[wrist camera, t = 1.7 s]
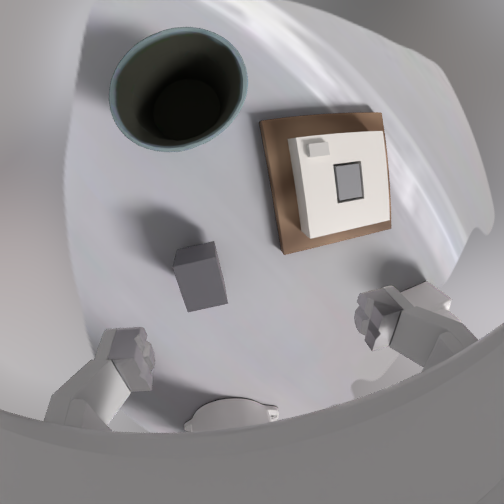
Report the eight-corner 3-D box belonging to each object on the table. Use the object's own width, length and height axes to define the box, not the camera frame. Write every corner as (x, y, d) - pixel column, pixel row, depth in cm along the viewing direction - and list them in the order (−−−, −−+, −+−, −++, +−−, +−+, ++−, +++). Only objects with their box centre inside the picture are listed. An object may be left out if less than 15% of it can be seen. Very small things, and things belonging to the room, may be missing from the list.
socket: (376, 214, 33) (392, 221, 30) (301, 231, 32) (312, 240, 29) (369, 131, 29) (385, 130, 26) (287, 139, 28) (297, 137, 25)
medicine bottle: (422, 311, 44) (460, 345, 33) (394, 324, 43) (432, 364, 32) (427, 280, 41) (471, 312, 30) (398, 292, 41) (442, 330, 30)
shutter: (358, 195, 30) (362, 196, 29) (336, 199, 29) (339, 200, 28) (355, 163, 28) (359, 163, 27) (332, 166, 28) (335, 166, 27)
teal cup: (246, 88, 27) (270, 53, 16) (209, 166, 29) (211, 172, 18) (166, 60, 24) (147, 14, 13) (129, 137, 26) (87, 129, 15)
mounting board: (385, 225, 36) (391, 228, 34) (281, 250, 34) (284, 254, 33) (375, 113, 30) (381, 112, 28) (259, 122, 28) (261, 120, 27)
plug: (226, 287, 35) (231, 315, 29) (193, 295, 35) (192, 324, 29) (213, 237, 32) (215, 257, 26) (178, 245, 32) (172, 267, 26)
